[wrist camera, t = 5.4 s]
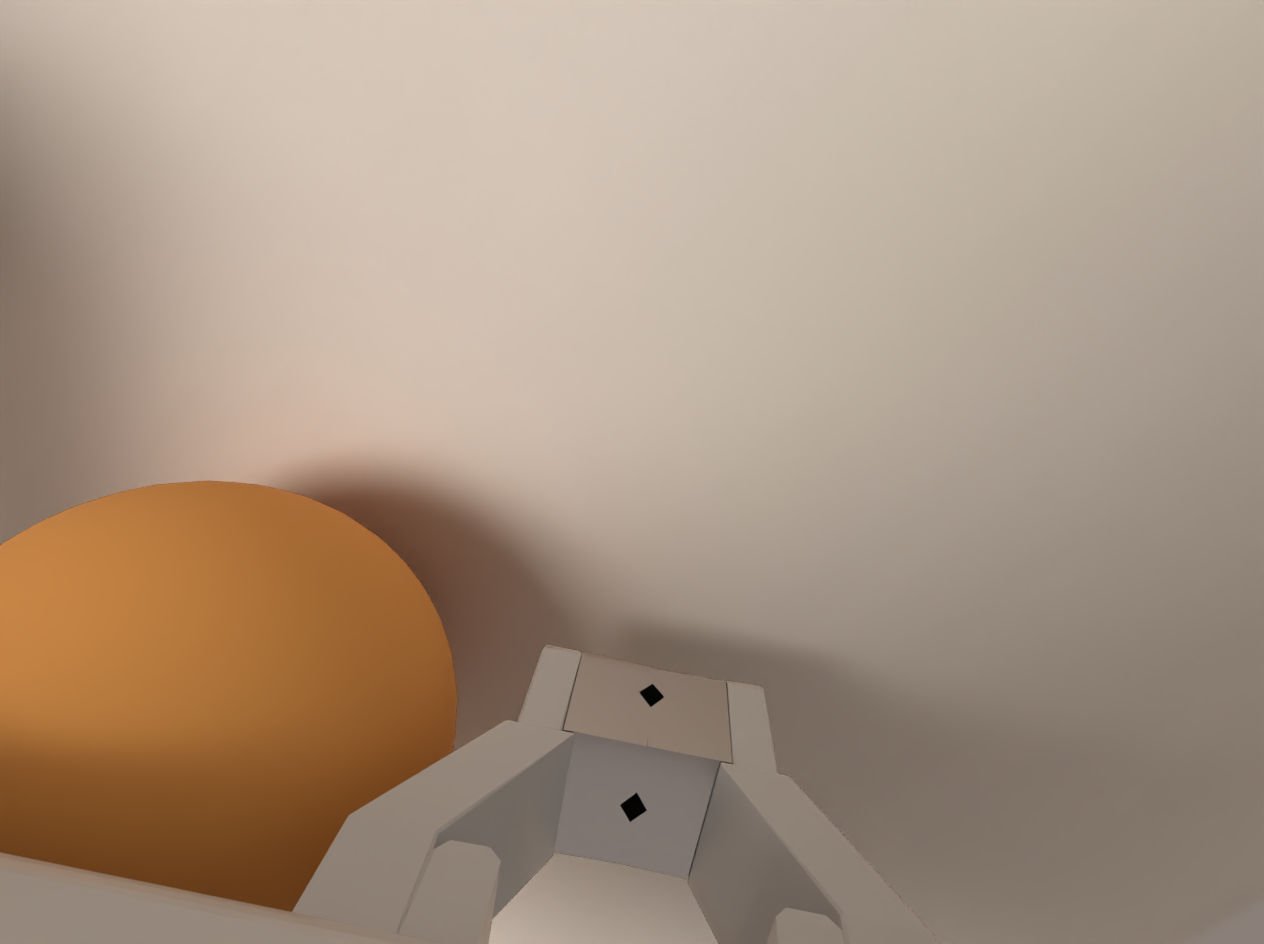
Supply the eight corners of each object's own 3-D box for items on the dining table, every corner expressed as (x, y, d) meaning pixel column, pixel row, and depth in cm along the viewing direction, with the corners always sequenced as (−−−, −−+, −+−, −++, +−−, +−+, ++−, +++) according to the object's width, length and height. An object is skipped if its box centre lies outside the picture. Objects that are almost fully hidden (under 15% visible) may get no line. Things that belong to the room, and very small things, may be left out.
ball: (554, 482, 9) (209, 375, 11) (21, 904, 4) (-461, 566, 6) (530, 801, 12) (258, 672, 13) (199, 1300, 6) (-165, 983, 8)
